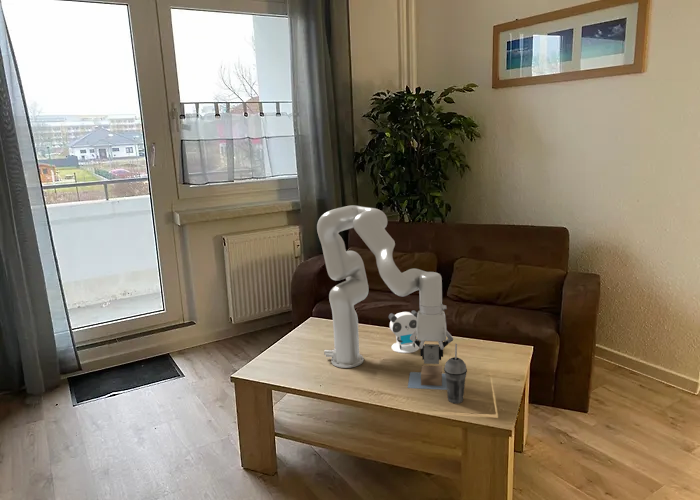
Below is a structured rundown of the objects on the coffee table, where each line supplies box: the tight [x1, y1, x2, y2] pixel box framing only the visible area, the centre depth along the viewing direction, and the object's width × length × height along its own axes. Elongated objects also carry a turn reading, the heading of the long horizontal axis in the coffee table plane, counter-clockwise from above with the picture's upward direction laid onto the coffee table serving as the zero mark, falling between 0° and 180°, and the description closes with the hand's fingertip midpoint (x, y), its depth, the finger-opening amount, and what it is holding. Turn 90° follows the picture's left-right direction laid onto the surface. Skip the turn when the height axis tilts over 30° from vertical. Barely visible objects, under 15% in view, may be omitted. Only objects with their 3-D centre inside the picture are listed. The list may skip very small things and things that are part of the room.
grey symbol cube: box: [423, 343, 440, 365], centre depth 182 cm, size 5×5×5 cm
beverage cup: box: [443, 343, 468, 405], centre depth 170 cm, size 7×7×20 cm
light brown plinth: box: [420, 364, 443, 386], centre depth 185 cm, size 7×7×4 cm
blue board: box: [407, 371, 447, 391], centre depth 185 cm, size 16×12×1 cm
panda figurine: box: [388, 309, 420, 354], centre depth 215 cm, size 12×11×15 cm
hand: (431, 357), depth 183 cm, fingers closed on grey symbol cube, 5 cm apart
